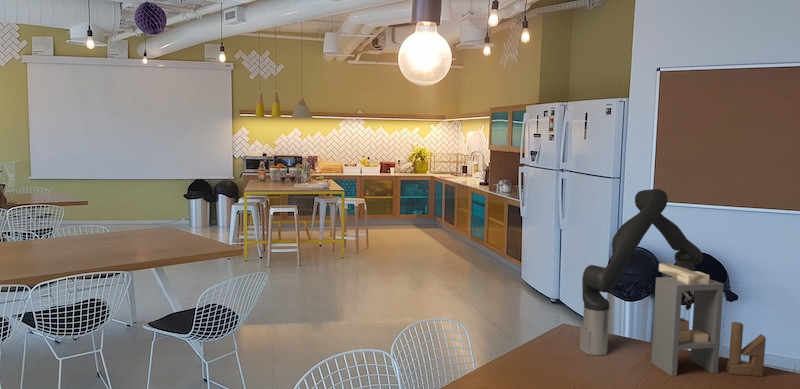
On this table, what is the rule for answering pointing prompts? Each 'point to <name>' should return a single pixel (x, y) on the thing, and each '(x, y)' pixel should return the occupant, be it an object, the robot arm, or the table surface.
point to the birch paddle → (684, 274)
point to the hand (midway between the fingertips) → (675, 308)
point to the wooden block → (745, 353)
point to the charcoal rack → (686, 324)
